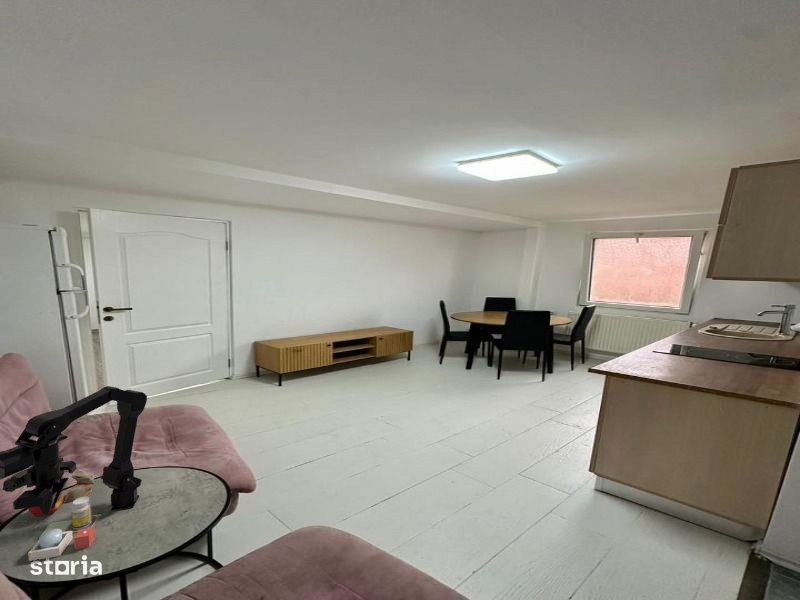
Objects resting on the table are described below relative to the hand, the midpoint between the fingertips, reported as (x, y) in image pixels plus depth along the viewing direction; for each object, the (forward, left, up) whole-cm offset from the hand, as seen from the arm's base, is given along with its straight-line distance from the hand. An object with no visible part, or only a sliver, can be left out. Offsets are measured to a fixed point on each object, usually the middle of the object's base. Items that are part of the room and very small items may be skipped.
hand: (49, 510), depth 107 cm
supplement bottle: (-3, -9, -12) cm, 16 cm away
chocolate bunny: (+4, -26, -12) cm, 30 cm away
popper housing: (0, 0, -12) cm, 12 cm away
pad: (+3, -9, -12) cm, 16 cm away
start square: (-3, -9, -12) cm, 16 cm away
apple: (+10, -18, -12) cm, 24 cm away
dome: (0, 0, -10) cm, 10 cm away
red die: (-8, 0, -12) cm, 14 cm away
